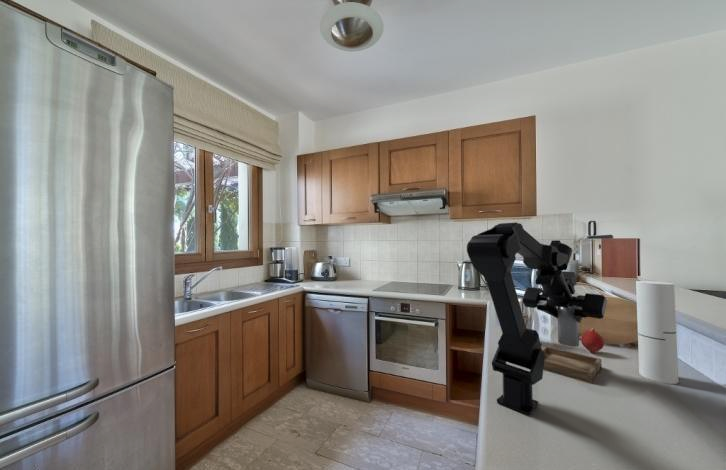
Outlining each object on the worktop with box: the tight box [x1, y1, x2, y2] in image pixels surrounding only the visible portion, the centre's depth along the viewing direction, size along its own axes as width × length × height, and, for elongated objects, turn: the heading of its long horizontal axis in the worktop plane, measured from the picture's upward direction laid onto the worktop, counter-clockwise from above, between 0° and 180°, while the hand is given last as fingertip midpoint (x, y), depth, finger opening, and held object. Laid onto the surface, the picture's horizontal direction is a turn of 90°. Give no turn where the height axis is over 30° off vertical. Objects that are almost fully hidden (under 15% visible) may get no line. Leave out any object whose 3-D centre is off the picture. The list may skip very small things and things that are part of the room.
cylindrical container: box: [635, 280, 679, 385], centre depth 75 cm, size 7×7×25 cm
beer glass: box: [518, 297, 535, 330], centre depth 102 cm, size 7×7×15 cm
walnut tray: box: [541, 345, 602, 385], centre depth 80 cm, size 14×14×2 cm
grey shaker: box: [556, 305, 580, 347], centre depth 80 cm, size 5×5×13 cm
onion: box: [580, 327, 605, 354], centre depth 91 cm, size 6×6×8 cm
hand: (569, 319), depth 81 cm, fingers closed on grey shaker, 5 cm apart
